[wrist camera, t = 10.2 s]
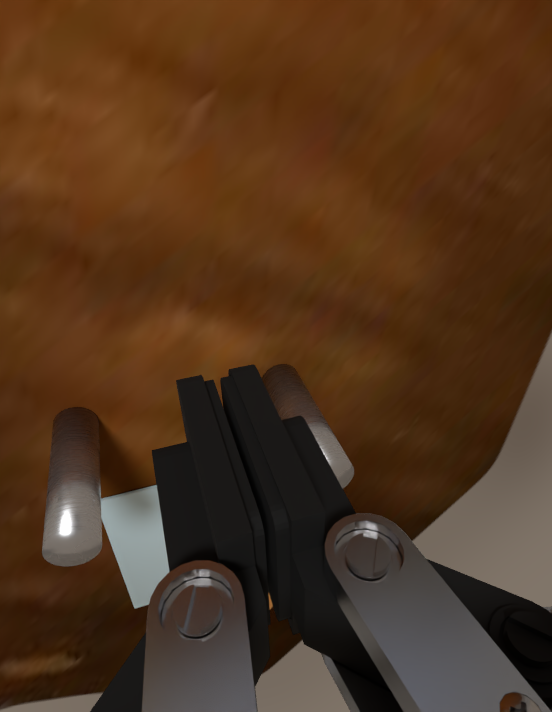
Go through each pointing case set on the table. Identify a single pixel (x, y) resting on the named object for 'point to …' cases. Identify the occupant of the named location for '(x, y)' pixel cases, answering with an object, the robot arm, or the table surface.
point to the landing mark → (137, 540)
